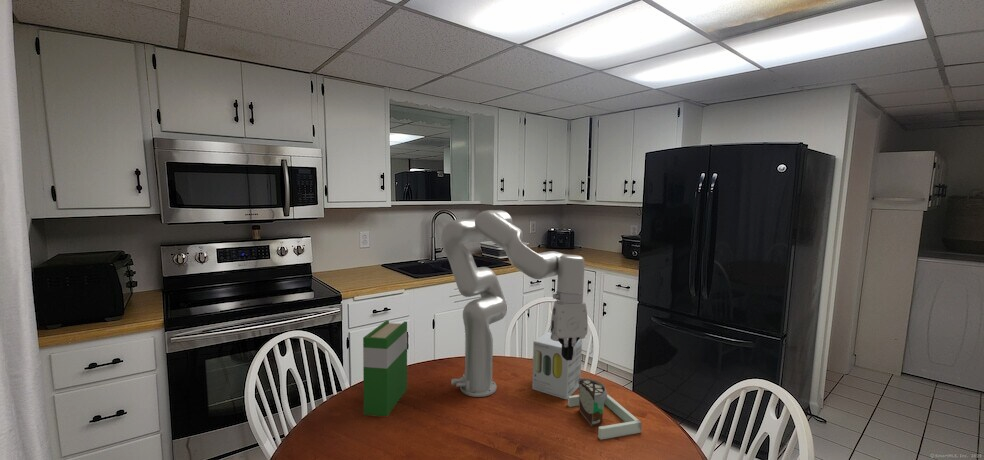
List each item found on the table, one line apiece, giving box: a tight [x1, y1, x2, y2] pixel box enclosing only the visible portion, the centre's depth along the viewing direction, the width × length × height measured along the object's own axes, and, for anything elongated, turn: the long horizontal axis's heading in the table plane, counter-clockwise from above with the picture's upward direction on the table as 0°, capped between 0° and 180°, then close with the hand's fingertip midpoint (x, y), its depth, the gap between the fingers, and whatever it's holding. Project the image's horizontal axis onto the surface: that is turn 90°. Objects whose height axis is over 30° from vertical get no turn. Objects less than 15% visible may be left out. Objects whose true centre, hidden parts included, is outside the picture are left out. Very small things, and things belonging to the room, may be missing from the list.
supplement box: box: [532, 331, 583, 400], centre depth 140 cm, size 13×13×18 cm
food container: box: [578, 377, 608, 427], centre depth 121 cm, size 12×6×10 cm, turn 11°
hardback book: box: [362, 320, 408, 417], centre depth 128 cm, size 18×7×24 cm, turn 173°
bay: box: [567, 393, 643, 440], centre depth 121 cm, size 13×19×3 cm
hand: (567, 358), depth 117 cm, fingers closed
